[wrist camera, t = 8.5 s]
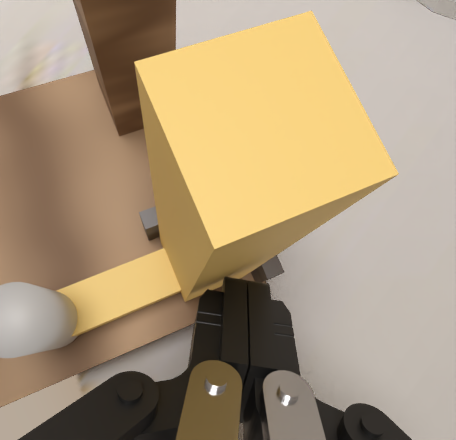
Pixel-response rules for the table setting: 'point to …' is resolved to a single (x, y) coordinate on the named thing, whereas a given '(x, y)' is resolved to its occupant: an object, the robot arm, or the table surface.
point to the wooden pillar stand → (87, 189)
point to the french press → (441, 7)
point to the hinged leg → (222, 174)
